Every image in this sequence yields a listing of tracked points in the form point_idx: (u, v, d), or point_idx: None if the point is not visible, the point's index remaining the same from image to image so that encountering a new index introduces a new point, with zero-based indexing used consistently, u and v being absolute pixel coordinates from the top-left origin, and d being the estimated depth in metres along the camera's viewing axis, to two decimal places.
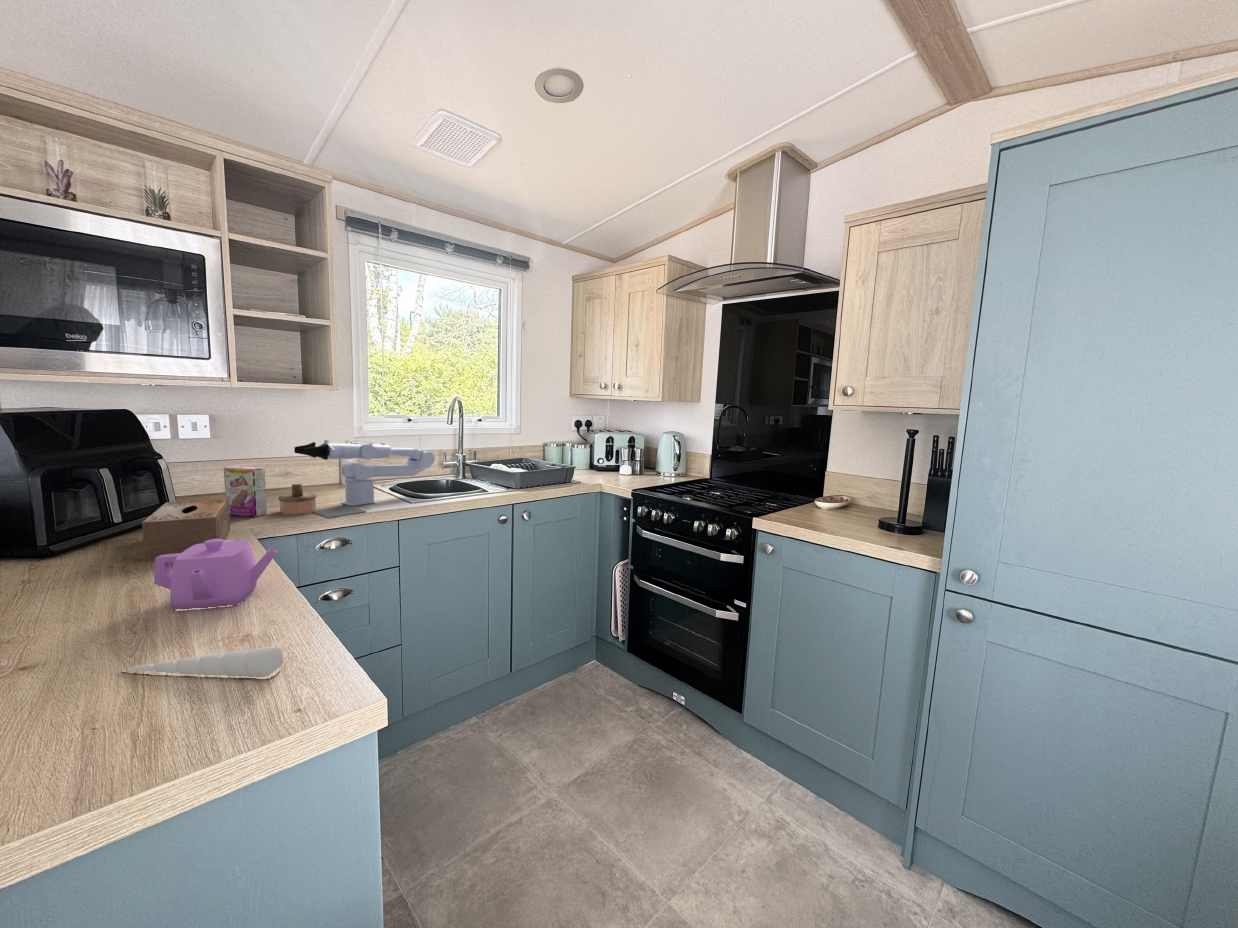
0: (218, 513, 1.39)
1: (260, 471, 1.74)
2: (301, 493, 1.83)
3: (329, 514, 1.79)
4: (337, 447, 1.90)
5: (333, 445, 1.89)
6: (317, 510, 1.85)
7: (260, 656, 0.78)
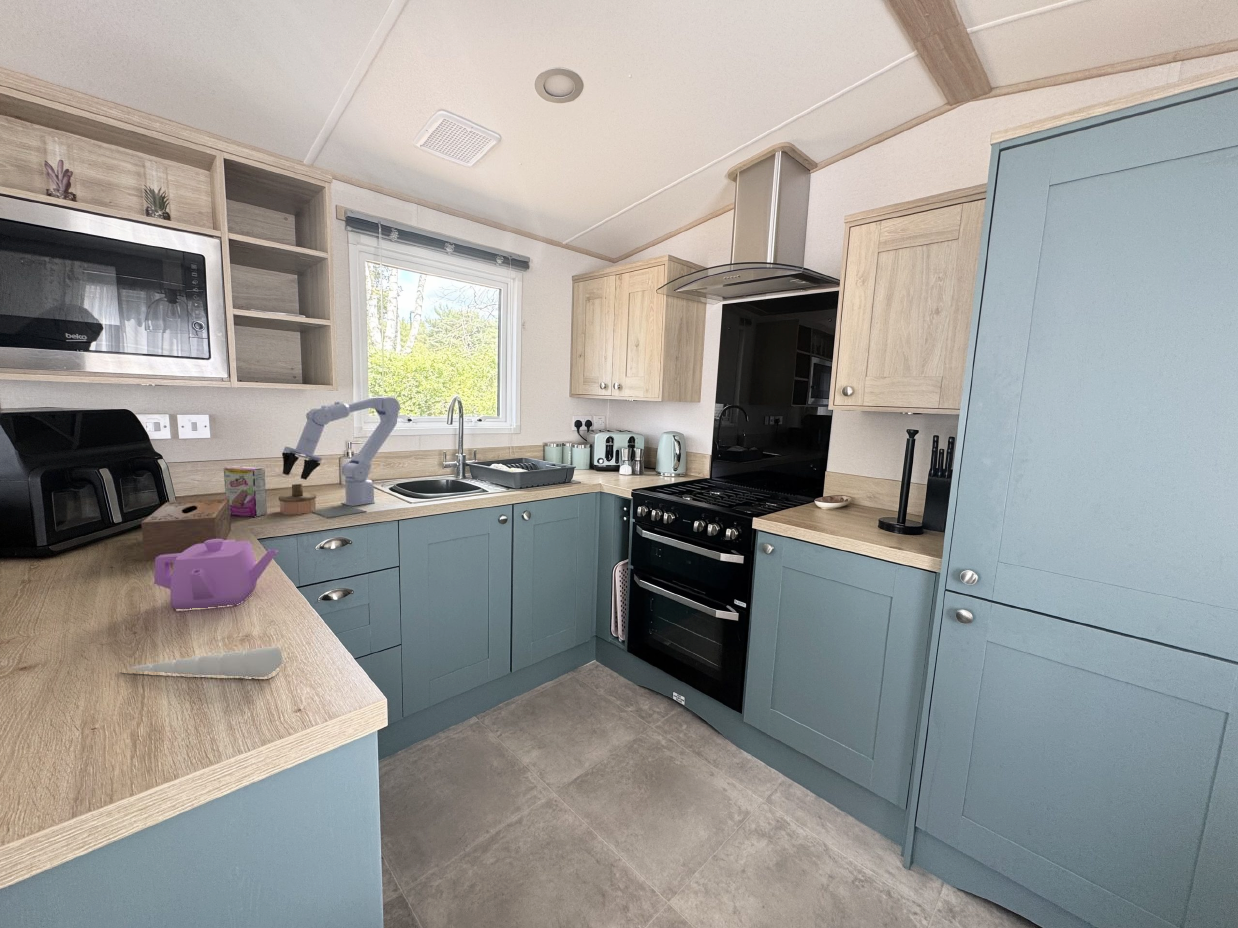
0: (218, 513, 1.39)
1: (260, 471, 1.74)
2: (301, 493, 1.83)
3: (329, 514, 1.79)
4: (298, 442, 1.82)
5: (297, 445, 1.83)
6: (317, 510, 1.85)
7: (259, 657, 0.78)
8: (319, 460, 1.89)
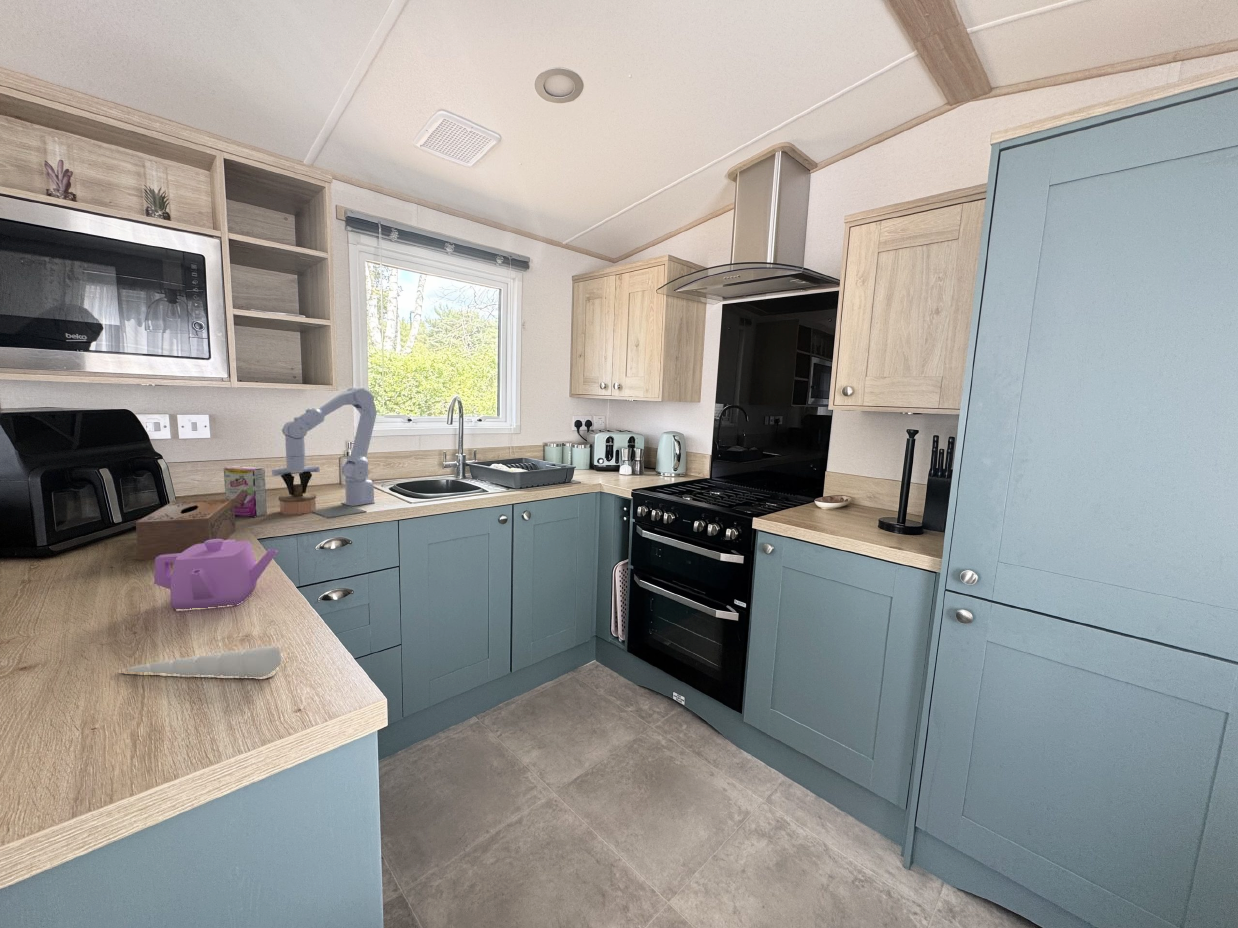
0: (213, 514, 1.38)
1: (260, 471, 1.74)
2: (301, 493, 1.83)
3: (329, 514, 1.79)
4: None
5: None
6: (317, 510, 1.85)
7: (258, 656, 0.78)
8: (317, 470, 1.87)
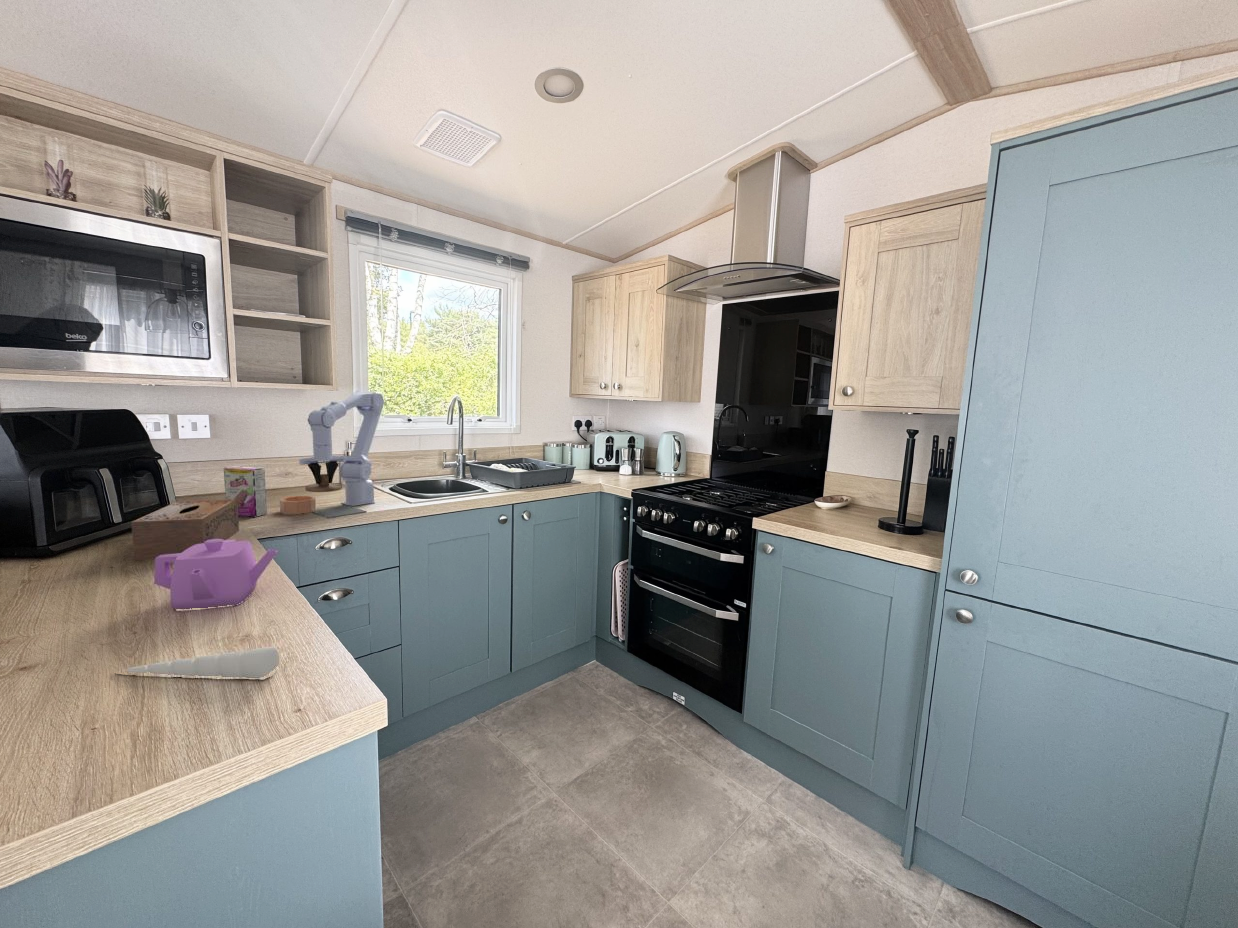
0: (210, 514, 1.37)
1: (260, 471, 1.74)
2: (328, 483, 1.83)
3: (329, 514, 1.79)
4: None
5: None
6: (317, 510, 1.85)
7: (256, 657, 0.78)
8: (343, 459, 1.86)
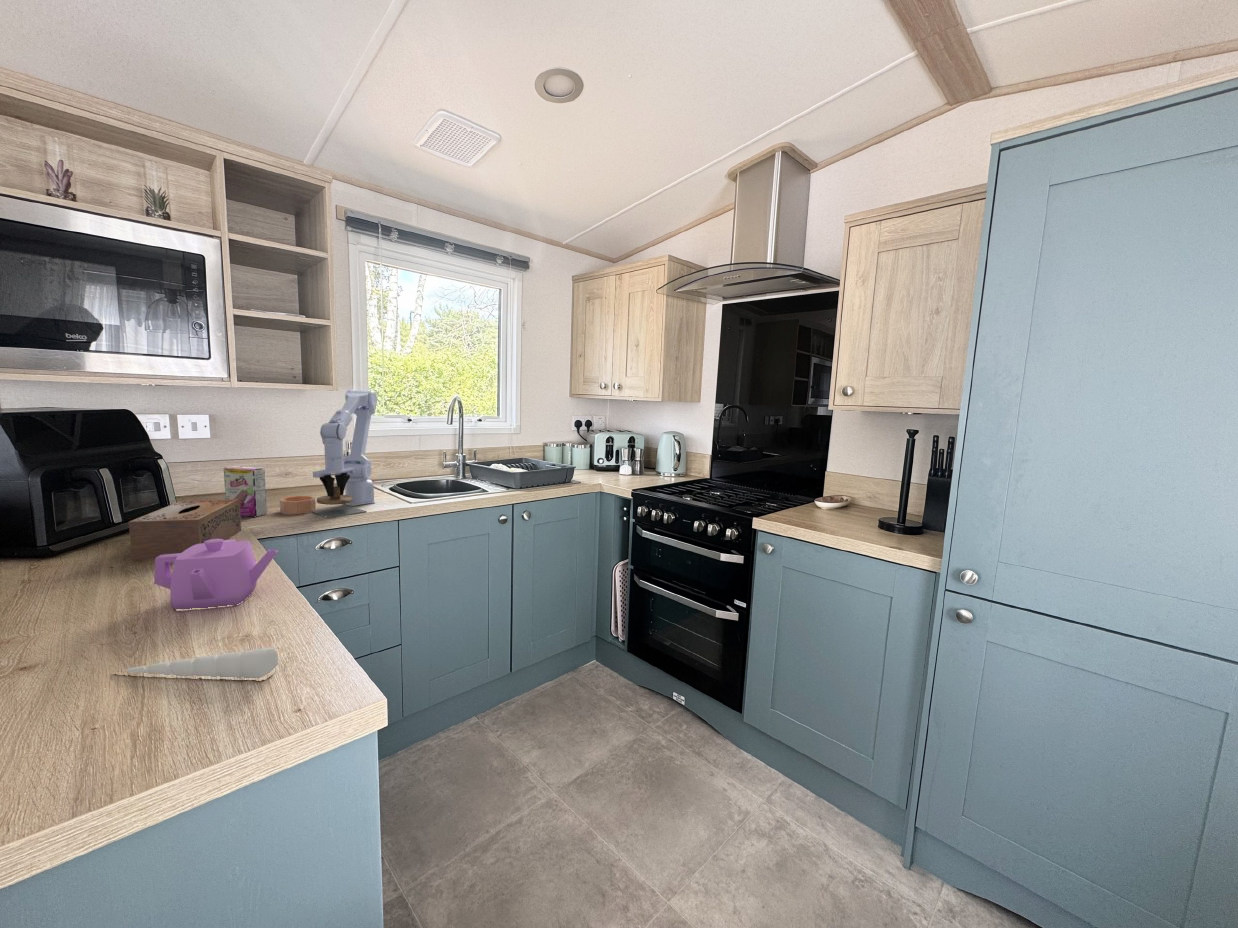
0: (207, 515, 1.37)
1: (260, 471, 1.74)
2: (339, 495, 1.84)
3: (329, 514, 1.79)
4: (325, 462, 1.80)
5: None
6: (317, 510, 1.85)
7: (255, 658, 0.78)
8: (353, 471, 1.88)
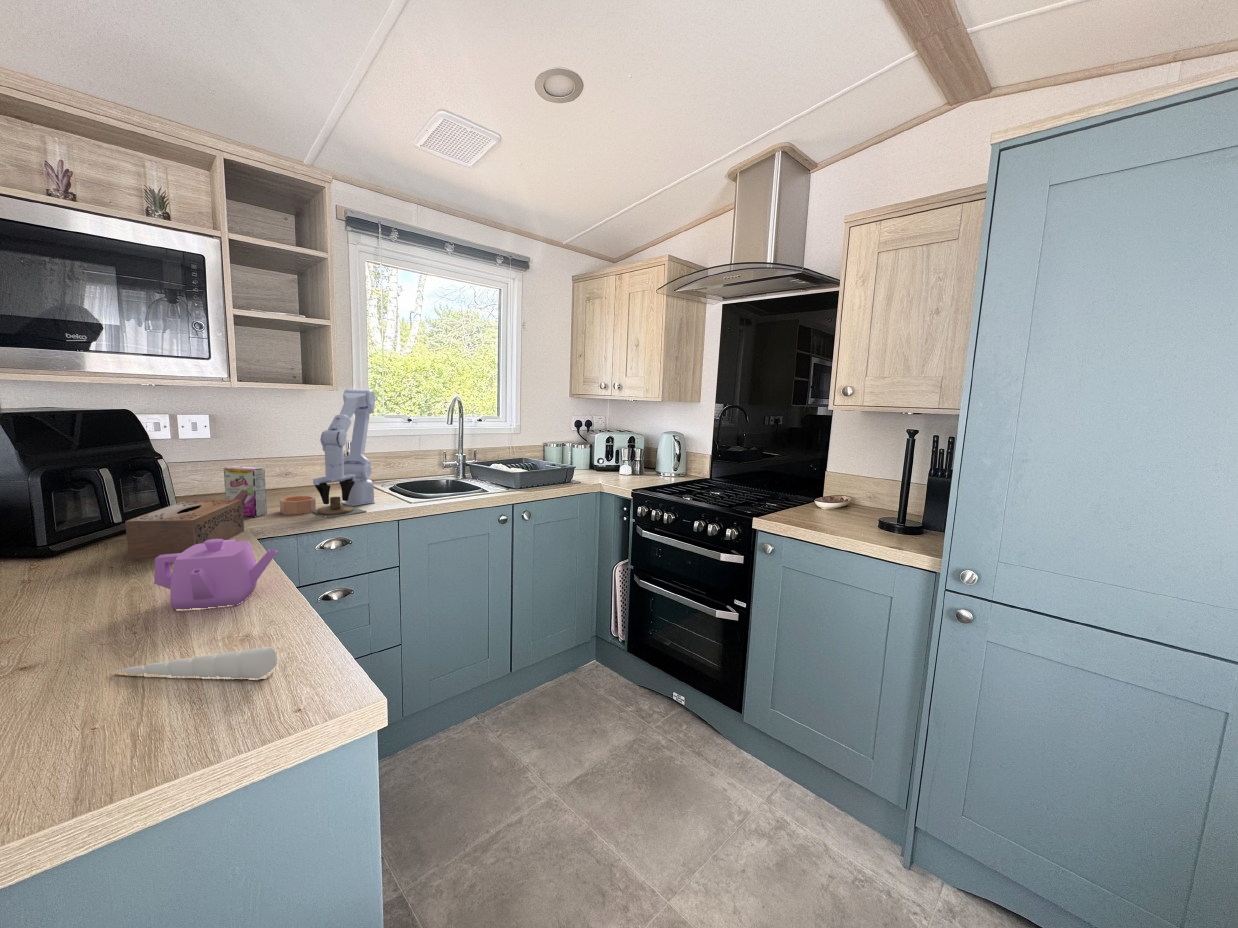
0: (203, 515, 1.36)
1: (260, 471, 1.74)
2: (340, 505, 1.84)
3: None
4: None
5: None
6: None
7: (254, 657, 0.78)
8: (353, 478, 1.88)
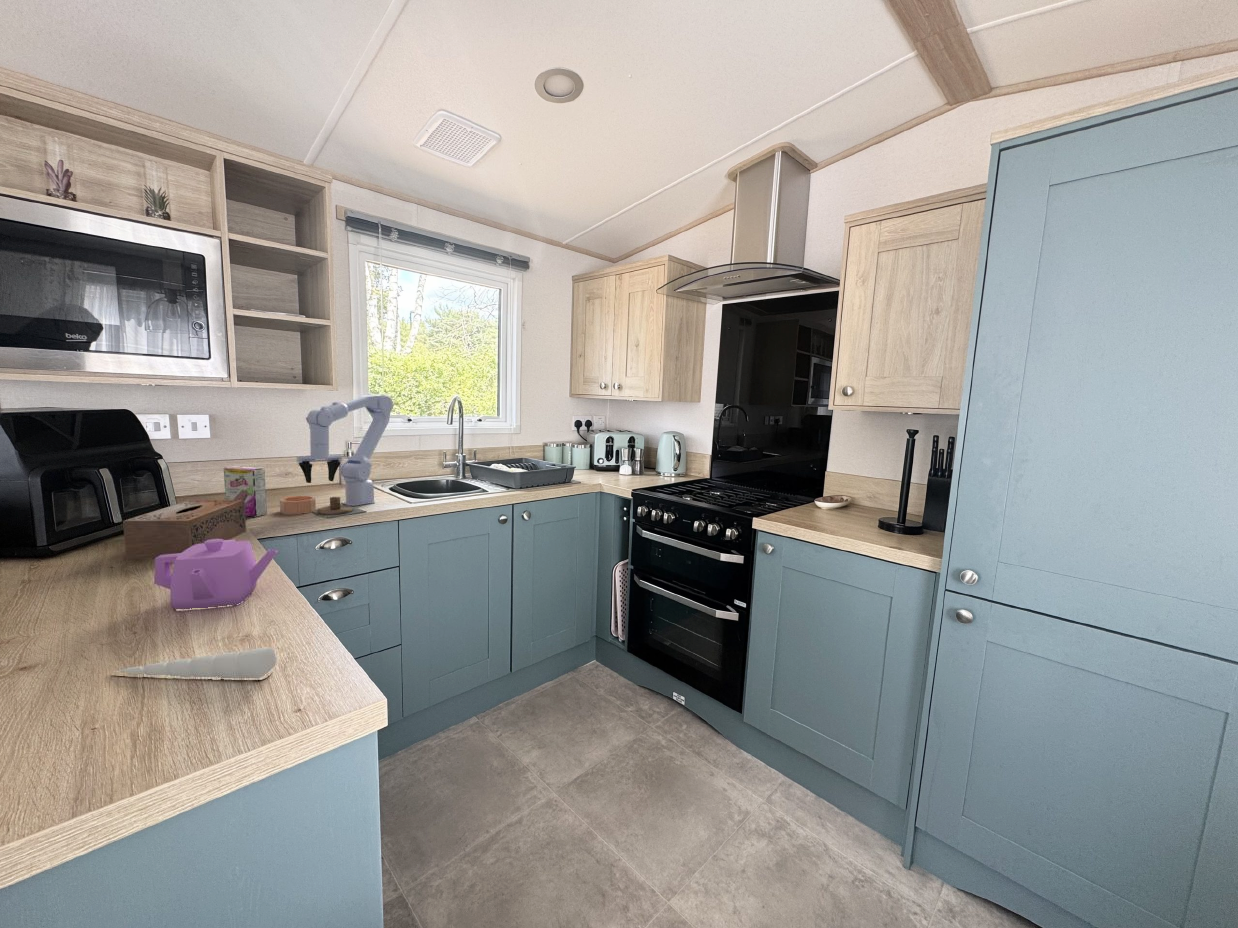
0: (200, 516, 1.36)
1: (260, 471, 1.74)
2: (339, 506, 1.84)
3: None
4: None
5: None
6: None
7: (253, 658, 0.78)
8: (339, 459, 1.89)
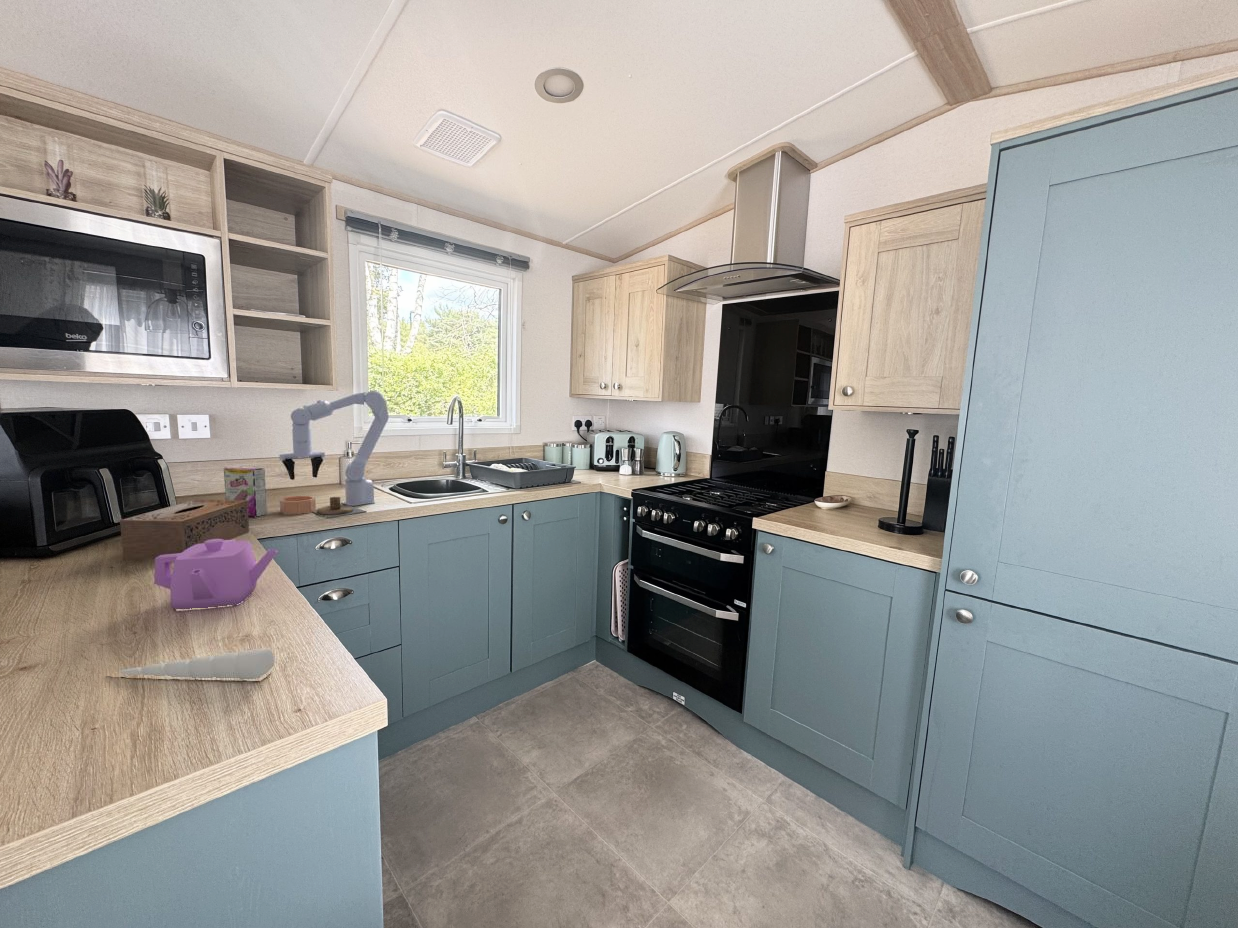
0: (196, 516, 1.35)
1: (260, 471, 1.74)
2: (339, 506, 1.84)
3: None
4: None
5: None
6: None
7: (251, 659, 0.78)
8: (322, 455, 1.95)
